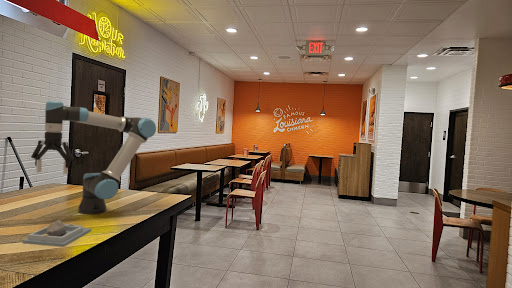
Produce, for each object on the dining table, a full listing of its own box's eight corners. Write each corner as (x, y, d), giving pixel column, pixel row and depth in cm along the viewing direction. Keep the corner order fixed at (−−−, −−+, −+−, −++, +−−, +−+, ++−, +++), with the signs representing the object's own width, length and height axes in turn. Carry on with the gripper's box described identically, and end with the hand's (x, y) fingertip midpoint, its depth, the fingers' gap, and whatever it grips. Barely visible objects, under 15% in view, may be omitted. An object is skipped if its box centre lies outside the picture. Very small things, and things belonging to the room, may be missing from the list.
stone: (45, 238, 141) (45, 225, 141) (46, 232, 150) (46, 219, 150) (66, 236, 146) (66, 224, 145) (66, 230, 154) (66, 218, 154)
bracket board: (55, 227, 160) (56, 219, 160) (91, 230, 159) (91, 222, 159) (22, 243, 138) (22, 233, 138) (63, 246, 137) (64, 237, 137)
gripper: (23, 130, 159) (22, 172, 160) (74, 133, 160) (72, 175, 161) (34, 130, 167) (32, 170, 168) (82, 133, 167) (80, 173, 168)
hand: (52, 173), depth 164 cm, fingers open, 13 cm apart
